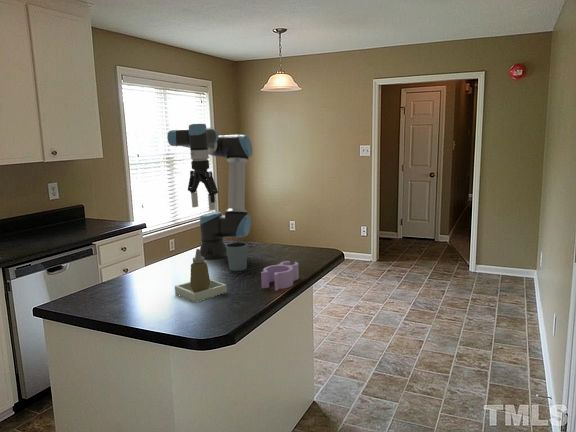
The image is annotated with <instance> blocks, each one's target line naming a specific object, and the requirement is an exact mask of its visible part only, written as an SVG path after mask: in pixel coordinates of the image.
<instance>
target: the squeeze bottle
mask: <svg viewBox="0 0 576 432" xmlns="http://www.w3.org/2000/svg"><path fill="white" fill-rule="evenodd" d="M194 255H195V256H194V257H193V258H192V263H191V264H190V281H189V282H190V285H191V288H192V290H193V292H194V293H197V292H200V291H204V290H207V289H209V286H210V279H211V278H210V273H209V269H208V268H209V266H208V263H207V262H205V259H204V257H202V256H201V253H200V248H196V251H195V254H194Z"/></svg>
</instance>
